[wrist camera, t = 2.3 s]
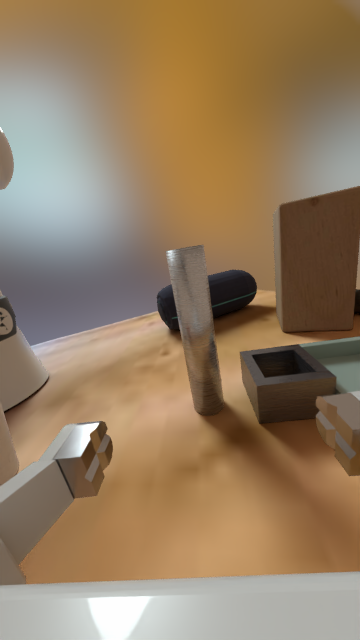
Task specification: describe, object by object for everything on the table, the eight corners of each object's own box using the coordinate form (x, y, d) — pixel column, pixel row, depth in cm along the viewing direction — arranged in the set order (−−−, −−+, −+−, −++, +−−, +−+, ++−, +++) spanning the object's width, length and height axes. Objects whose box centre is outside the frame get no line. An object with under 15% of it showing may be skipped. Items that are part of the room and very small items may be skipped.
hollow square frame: (259, 423, 19) (256, 385, 18) (242, 381, 25) (239, 351, 24) (334, 416, 18) (336, 376, 17) (298, 375, 24) (298, 344, 23)
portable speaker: (234, 302, 61) (231, 267, 58) (262, 306, 52) (260, 266, 49) (155, 328, 50) (146, 287, 47) (173, 339, 42) (164, 290, 39)
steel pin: (194, 417, 21) (163, 251, 16) (193, 396, 24) (167, 251, 19) (226, 413, 21) (204, 244, 16) (221, 393, 24) (202, 245, 19)
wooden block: (353, 330, 32) (365, 184, 26) (282, 333, 36) (278, 204, 30) (332, 311, 41) (337, 198, 35) (276, 314, 45) (272, 212, 39)
